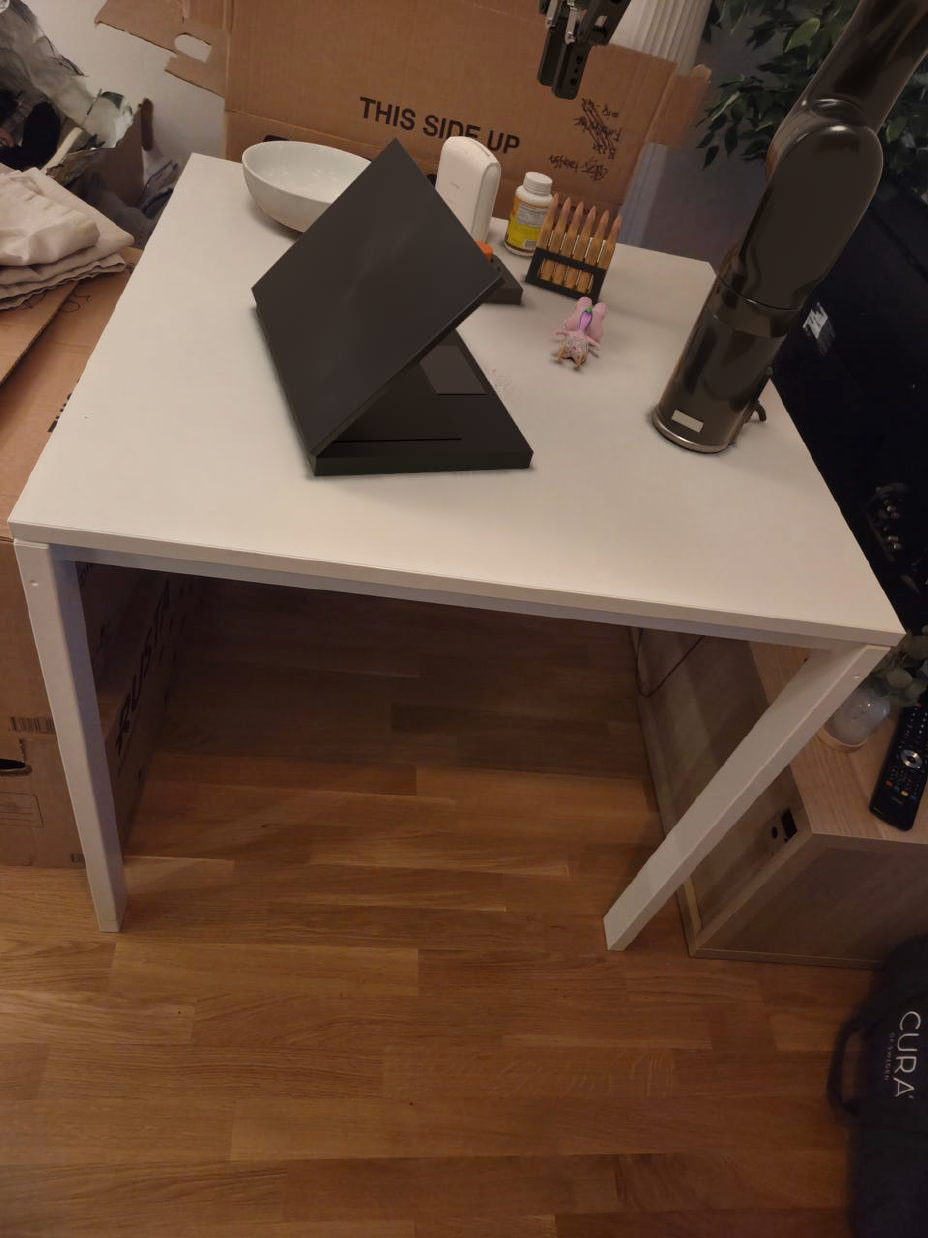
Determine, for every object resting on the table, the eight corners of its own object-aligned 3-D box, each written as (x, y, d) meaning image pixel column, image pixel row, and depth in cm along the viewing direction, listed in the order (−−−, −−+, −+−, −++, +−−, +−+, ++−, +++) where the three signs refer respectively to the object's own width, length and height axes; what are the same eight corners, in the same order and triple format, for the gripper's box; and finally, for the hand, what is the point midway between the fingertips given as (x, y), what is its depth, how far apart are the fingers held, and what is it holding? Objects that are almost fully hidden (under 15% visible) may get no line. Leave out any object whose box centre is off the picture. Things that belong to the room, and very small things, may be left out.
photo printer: (424, 218, 118) (441, 127, 110) (446, 216, 121) (464, 127, 112) (467, 249, 114) (487, 157, 105) (489, 247, 116) (510, 156, 108)
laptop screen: (400, 143, 81) (395, 136, 80) (507, 283, 63) (501, 275, 63) (256, 293, 88) (250, 288, 87) (316, 458, 70) (309, 453, 69)
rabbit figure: (587, 384, 97) (613, 320, 106) (602, 343, 92) (628, 280, 101) (540, 367, 98) (569, 304, 106) (553, 325, 93) (582, 263, 101)
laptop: (436, 318, 97) (439, 301, 96) (528, 468, 80) (534, 451, 78) (256, 310, 89) (256, 292, 87) (314, 476, 71) (316, 457, 70)
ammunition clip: (524, 282, 111) (549, 192, 102) (526, 277, 112) (551, 188, 103) (595, 306, 110) (627, 218, 102) (597, 301, 112) (628, 214, 103)
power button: (484, 254, 105) (487, 241, 104) (494, 267, 103) (497, 253, 102) (459, 252, 104) (462, 239, 102) (469, 265, 101) (472, 251, 100)
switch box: (495, 273, 111) (502, 244, 108) (519, 304, 105) (527, 275, 102) (422, 268, 106) (427, 238, 103) (443, 301, 101) (449, 270, 98)
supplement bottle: (511, 237, 121) (530, 166, 114) (543, 251, 120) (564, 180, 113) (496, 247, 117) (514, 173, 110) (529, 261, 116) (549, 188, 109)
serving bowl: (390, 271, 103) (399, 218, 98) (227, 237, 100) (228, 179, 95) (397, 212, 118) (405, 162, 113) (255, 180, 114) (256, 127, 109)
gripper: (722, -160, 53) (628, 126, 65) (627, -187, 61) (560, 71, 74) (629, -192, 50) (549, 113, 62) (543, -216, 58) (487, 58, 71)
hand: (555, 89), depth 68 cm, fingers closed
